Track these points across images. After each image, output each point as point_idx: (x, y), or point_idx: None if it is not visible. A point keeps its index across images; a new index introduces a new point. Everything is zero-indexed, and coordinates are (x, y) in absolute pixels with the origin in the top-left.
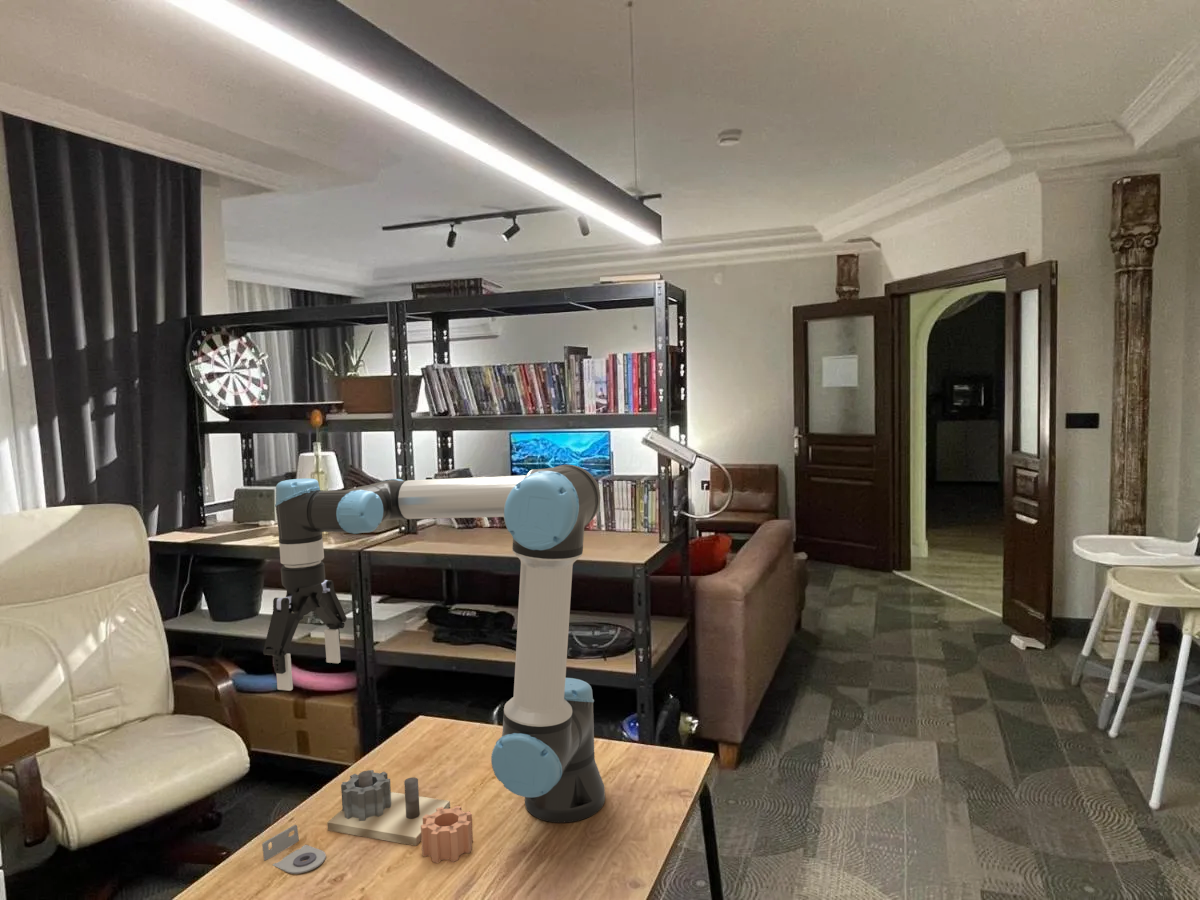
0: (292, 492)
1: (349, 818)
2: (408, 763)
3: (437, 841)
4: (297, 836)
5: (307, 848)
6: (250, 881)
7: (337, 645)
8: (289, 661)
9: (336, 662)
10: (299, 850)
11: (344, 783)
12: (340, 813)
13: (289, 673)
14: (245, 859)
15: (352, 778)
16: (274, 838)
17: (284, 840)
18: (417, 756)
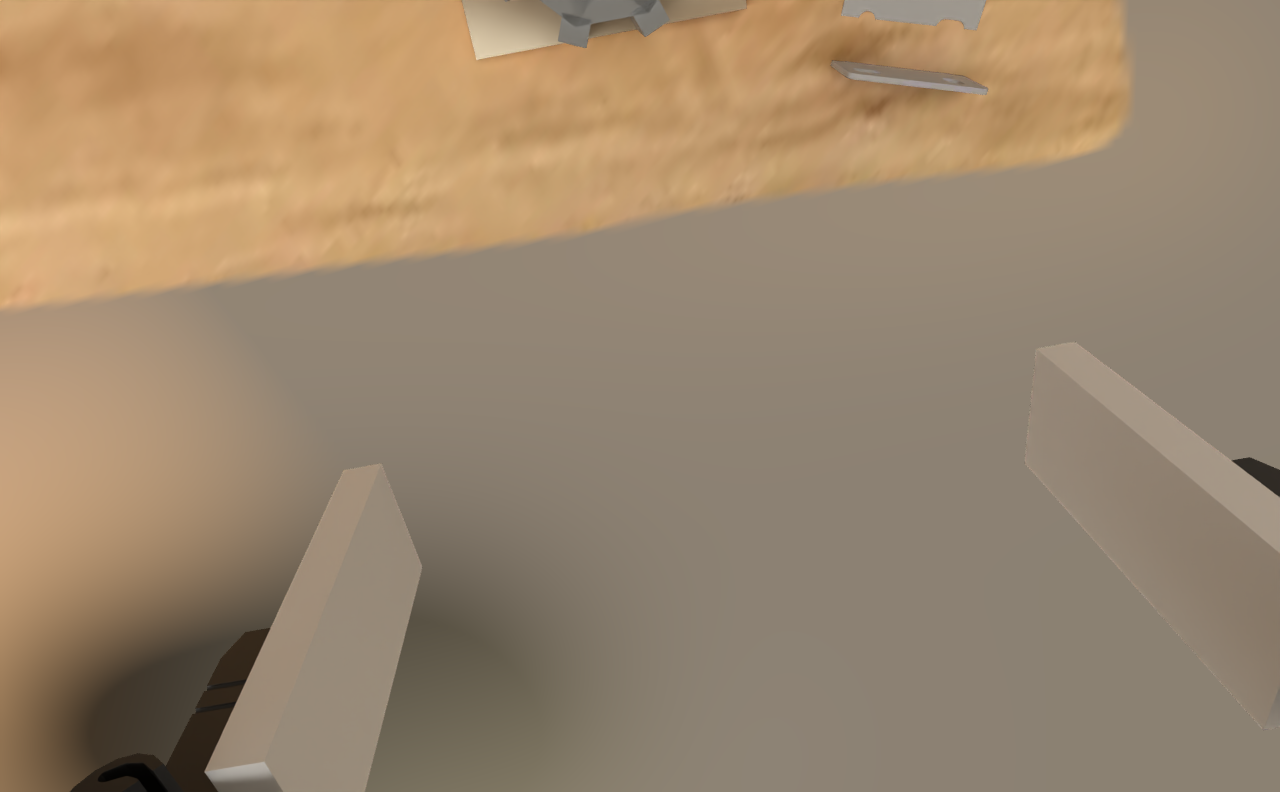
0: None
1: None
2: (185, 86)
3: None
4: (840, 64)
5: None
6: (1072, 20)
7: (322, 591)
8: (1258, 512)
9: (387, 482)
10: (881, 3)
11: (651, 15)
12: (676, 7)
13: (1175, 425)
14: (971, 148)
15: (600, 14)
16: (942, 83)
17: (895, 73)
18: (114, 94)
